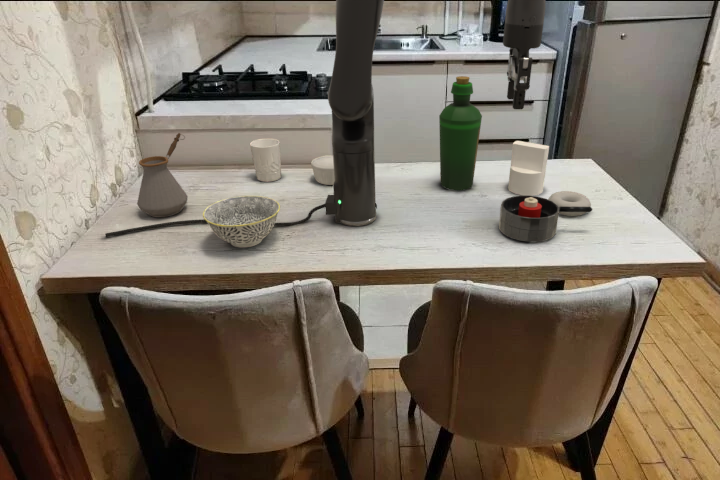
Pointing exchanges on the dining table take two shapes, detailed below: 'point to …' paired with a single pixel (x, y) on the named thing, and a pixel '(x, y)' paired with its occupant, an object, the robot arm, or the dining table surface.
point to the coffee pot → (160, 186)
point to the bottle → (459, 138)
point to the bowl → (242, 219)
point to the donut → (570, 201)
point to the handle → (575, 209)
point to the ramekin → (323, 169)
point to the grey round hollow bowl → (528, 220)
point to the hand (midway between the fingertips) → (514, 103)
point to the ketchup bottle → (530, 208)
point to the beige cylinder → (266, 159)
